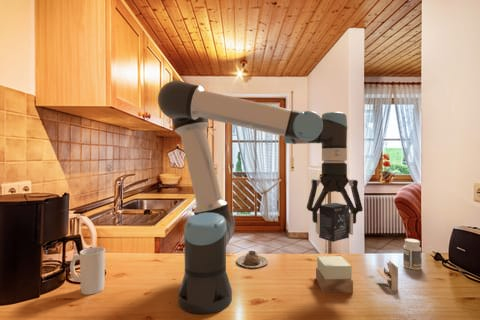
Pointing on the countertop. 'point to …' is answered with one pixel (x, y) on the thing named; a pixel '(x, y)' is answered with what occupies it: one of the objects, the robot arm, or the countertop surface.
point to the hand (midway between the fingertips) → (333, 233)
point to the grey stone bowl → (252, 260)
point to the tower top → (334, 267)
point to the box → (334, 221)
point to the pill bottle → (412, 254)
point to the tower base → (334, 284)
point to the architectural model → (391, 275)
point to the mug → (90, 269)
